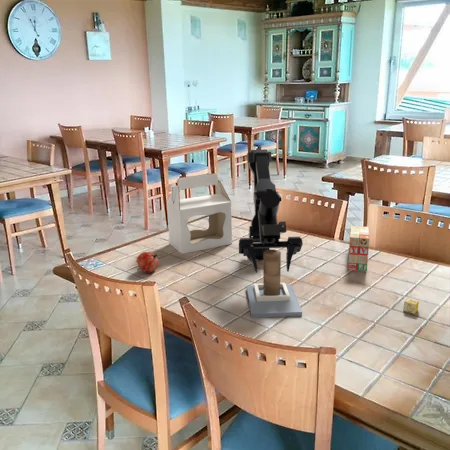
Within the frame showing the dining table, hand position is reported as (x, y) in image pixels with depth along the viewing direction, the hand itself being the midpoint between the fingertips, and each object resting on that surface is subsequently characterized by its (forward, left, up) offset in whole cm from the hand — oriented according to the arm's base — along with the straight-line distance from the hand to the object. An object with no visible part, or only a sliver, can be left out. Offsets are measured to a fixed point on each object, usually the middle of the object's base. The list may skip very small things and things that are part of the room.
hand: (272, 271), depth 134 cm
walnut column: (-1, -1, -8) cm, 8 cm away
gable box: (-8, -55, -9) cm, 56 cm away
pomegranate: (+21, -42, -9) cm, 48 cm away
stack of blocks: (-44, -6, -9) cm, 46 cm away
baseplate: (+1, +1, -9) cm, 9 cm away
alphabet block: (-27, +28, -9) cm, 40 cm away
